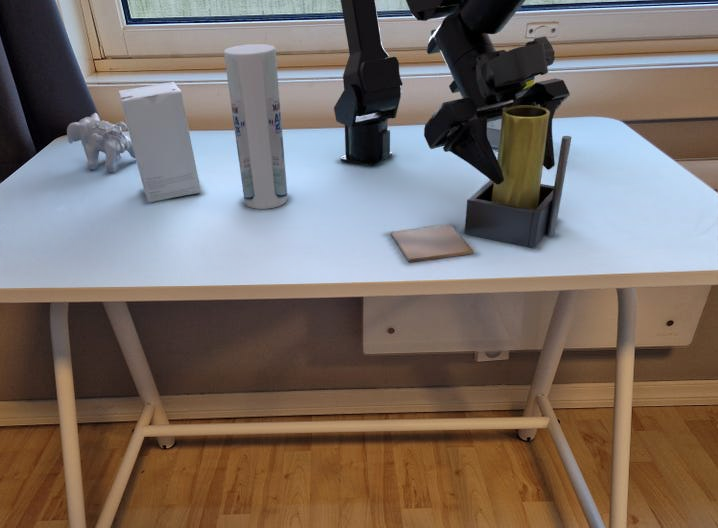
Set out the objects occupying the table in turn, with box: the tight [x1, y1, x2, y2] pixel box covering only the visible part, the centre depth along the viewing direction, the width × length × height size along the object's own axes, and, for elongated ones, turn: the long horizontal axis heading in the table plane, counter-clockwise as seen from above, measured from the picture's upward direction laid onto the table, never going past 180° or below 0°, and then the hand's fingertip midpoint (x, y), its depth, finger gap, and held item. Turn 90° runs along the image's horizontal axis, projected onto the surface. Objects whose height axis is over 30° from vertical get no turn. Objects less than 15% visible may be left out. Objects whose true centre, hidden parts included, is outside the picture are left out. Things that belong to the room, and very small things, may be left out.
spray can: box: [223, 43, 288, 210], centre depth 86 cm, size 6×6×20 cm
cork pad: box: [390, 223, 475, 263], centre depth 78 cm, size 8×8×1 cm
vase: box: [491, 105, 550, 210], centre depth 77 cm, size 6×6×14 cm
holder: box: [464, 135, 572, 249], centre depth 77 cm, size 10×9×12 cm
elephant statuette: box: [66, 112, 136, 173], centre depth 105 cm, size 9×12×8 cm
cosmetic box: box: [118, 81, 202, 203], centre depth 91 cm, size 8×6×15 cm
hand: (526, 175), depth 76 cm, fingers open, 8 cm apart
